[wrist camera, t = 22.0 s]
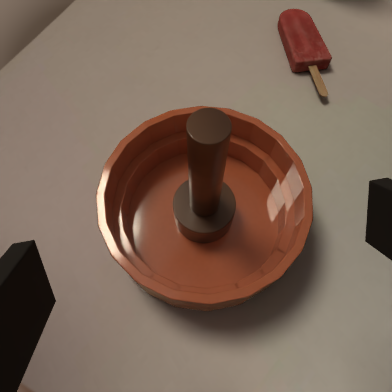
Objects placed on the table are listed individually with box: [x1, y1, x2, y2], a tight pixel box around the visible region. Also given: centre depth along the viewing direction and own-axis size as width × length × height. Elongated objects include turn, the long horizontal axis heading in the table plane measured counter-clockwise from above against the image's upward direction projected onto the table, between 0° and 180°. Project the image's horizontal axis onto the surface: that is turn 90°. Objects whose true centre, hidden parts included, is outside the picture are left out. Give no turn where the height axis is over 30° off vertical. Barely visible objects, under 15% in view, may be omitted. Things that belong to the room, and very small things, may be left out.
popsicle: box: [278, 9, 332, 97], centre depth 40 cm, size 4×2×15 cm
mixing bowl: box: [96, 106, 313, 311], centre depth 28 cm, size 17×17×6 cm
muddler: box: [173, 108, 236, 243], centre depth 24 cm, size 6×6×14 cm
